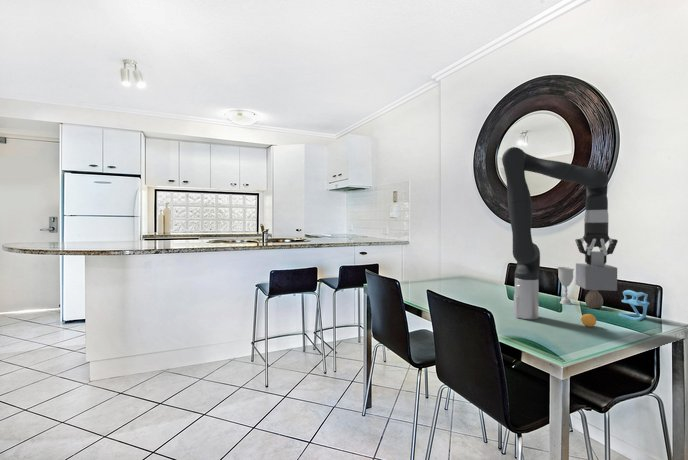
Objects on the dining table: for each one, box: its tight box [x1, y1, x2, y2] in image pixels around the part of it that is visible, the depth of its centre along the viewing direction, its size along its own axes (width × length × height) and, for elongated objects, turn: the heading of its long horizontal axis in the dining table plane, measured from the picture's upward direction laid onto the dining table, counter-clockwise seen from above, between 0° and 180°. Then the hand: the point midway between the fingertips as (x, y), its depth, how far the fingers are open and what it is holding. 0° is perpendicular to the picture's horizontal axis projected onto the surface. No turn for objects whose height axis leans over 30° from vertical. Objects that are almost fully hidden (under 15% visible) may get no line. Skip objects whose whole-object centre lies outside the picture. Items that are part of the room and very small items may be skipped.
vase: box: [584, 290, 604, 309], centre depth 157 cm, size 7×7×9 cm
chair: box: [618, 289, 650, 322], centre depth 141 cm, size 8×8×12 cm
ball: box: [580, 313, 597, 328], centre depth 131 cm, size 5×5×5 cm
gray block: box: [575, 250, 618, 292], centre depth 130 cm, size 10×10×14 cm
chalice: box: [557, 266, 575, 305], centre depth 166 cm, size 7×7×18 cm
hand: (595, 264), depth 130 cm, fingers closed on gray block, 4 cm apart
